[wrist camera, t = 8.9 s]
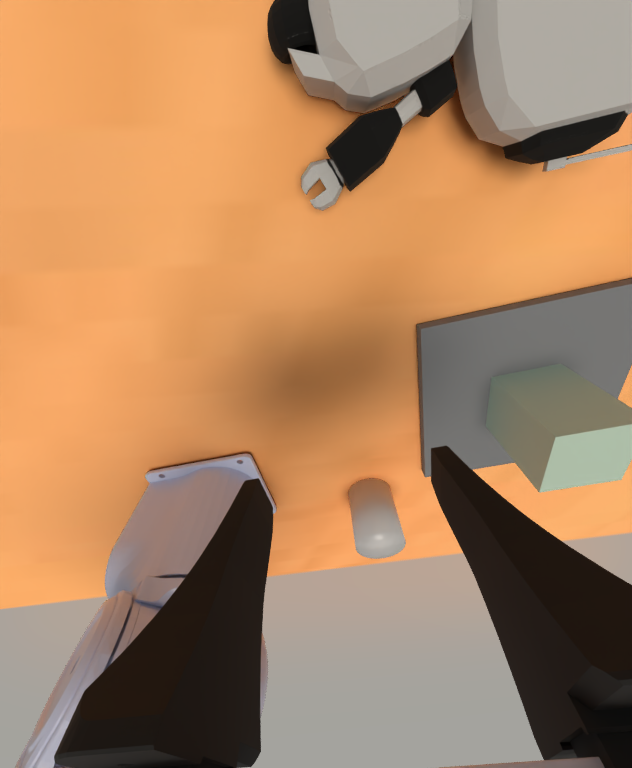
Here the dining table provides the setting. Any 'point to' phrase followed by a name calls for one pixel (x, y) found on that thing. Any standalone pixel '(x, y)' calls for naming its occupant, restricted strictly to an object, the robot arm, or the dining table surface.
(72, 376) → the dining table surface
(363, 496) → the grey cylinder
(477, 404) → the mat
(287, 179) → the dining table surface
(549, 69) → the robot toy
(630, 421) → the block
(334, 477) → the dining table surface
